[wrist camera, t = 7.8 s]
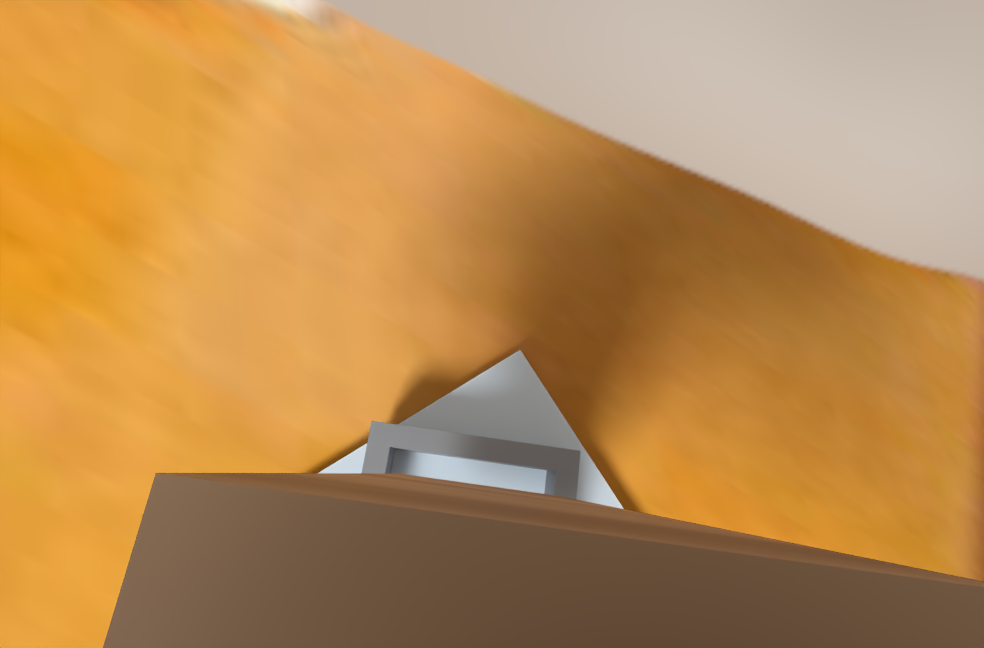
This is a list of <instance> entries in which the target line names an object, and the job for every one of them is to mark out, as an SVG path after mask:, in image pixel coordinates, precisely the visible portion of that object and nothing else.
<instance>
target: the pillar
mask: <svg viewBox="0 0 984 648" xmlns="http://www.w3.org/2000/svg"><path fill="white" fill-rule="evenodd" d="M103 648H984V582H983V581H978V580H973V579H968V578H963V577H958V576H953V575H948V574H943V573H938V572H933V571H928V570H923V569H918V568H913V567H908V566H903V565H898V564H893V563H889V562H884V561H879V560H874V559H869V558H864V557H859V556H854V555H849V554H844V553H839V552H834V551H829V550H824V549H819V548H814V547H809V546H804V545H799V544H794V543H789V542H784V541H780V540H775V539H770V538H765V537H760V536H755V535H750V534H745V533H740V532H735V531H730V530H725V529H720V528H715V527H710V526H705V525H700V524H695V523H690V522H685V521H680V520H675V519H670V518H666V517H661V516H656V515H651V514H646V513H641V512H636V511H631V510H626V509H621V508H616V507H611V506H606V505H601V504H596V503H591V502H586V501H581V500H576V499H571V498H566V497H561V496H556V495H549V494H542V493H535V492H528V491H521V490H514V489H507V488H500V487H492V486H485V485H478V484H471V483H464V482H457V481H450V480H443V479H435V478H428V477H421V476H414V475H407V474H400V473H156V475H155V478H154V481H153V484H152V488H151V491H150V494H149V498H148V501H147V504H146V508H145V511H144V514H143V517H142V521H141V524H140V527H139V531H138V534H137V537H136V541H135V544H134V547H133V550H132V554H131V557H130V560H129V564H128V567H127V570H126V574H125V577H124V580H123V583H122V587H121V590H120V593H119V597H118V600H117V603H116V607H115V610H114V613H113V616H112V620H111V623H110V626H109V630H108V633H107V636H106V640H105V643H104V646H103Z"/></svg>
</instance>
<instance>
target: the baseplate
mask: <svg viewBox="0 0 984 648" xmlns="http://www.w3.org/2000/svg"><path fill="white" fill-rule="evenodd" d="M319 473H400V474H407V475H414V476H421V477H428V478H435V479H443V480H450V481H457V482H464V483H471V484H478V485H485V486H492V487H500V488H507V489H514V490H521V491H528V492H535V493H542V494H549V495H556V496H561V497H566V498H571V499H576V500H581V501H586V502H591V503H596V504H601V505H606V506H611V507H616V508H621V509H624V508H623V507H622V505H621V504H620V502H619V501H618V499H617V498H616V496H615V494H614V493H613V491H612V490H611V488H610V487H609V485H608V484H607V482H606V481H605V479H604V478H603V476H602V475H601V473H600V471H599V470H598V468H597V467H596V465H595V464H594V462H593V461H592V459H591V458H590V456H589V455H588V453H587V451H586V450H585V448H584V447H583V445H582V444H581V442H580V441H579V439H578V438H577V436H576V435H575V433H574V431H573V430H572V428H571V427H570V425H569V424H568V422H567V421H566V419H565V418H564V416H563V415H562V413H561V411H560V410H559V408H558V407H557V405H556V404H555V402H554V401H553V399H552V398H551V396H550V395H549V393H548V391H547V390H546V388H545V387H544V385H543V384H542V382H541V381H540V379H539V378H538V376H537V375H536V373H535V371H534V370H533V368H532V367H531V365H530V364H529V362H528V361H527V359H526V358H525V356H524V355H523V353H522V351H521V350H519V351H517V352H516V353H514V354H512V355H511V356H509V357H507V358H506V359H504V360H502V361H501V362H499V363H497V364H496V365H494V366H493V367H491V368H489V369H488V370H486V371H484V372H483V373H481V374H479V375H478V376H476V377H475V378H473V379H471V380H470V381H468V382H466V383H465V384H463V385H461V386H460V387H458V388H457V389H455V390H453V391H452V392H450V393H448V394H447V395H445V396H443V397H442V398H440V399H438V400H437V401H435V402H434V403H432V404H430V405H429V406H427V407H425V408H424V409H422V410H420V411H419V412H417V413H416V414H414V415H412V416H411V417H409V418H407V419H406V420H404V421H402V422H401V423H399V424H390V423H383V422H376V421H372V422H371V427H370V432H369V437H368V442H367V443H366V444H365V445H363V446H361V447H360V448H358V449H357V450H355V451H353V452H352V453H350V454H348V455H347V456H345V457H343V458H342V459H340V460H338V461H337V462H335V463H334V464H332V465H330V466H329V467H327V468H325V469H324V470H322V471H320V472H319Z"/></svg>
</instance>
